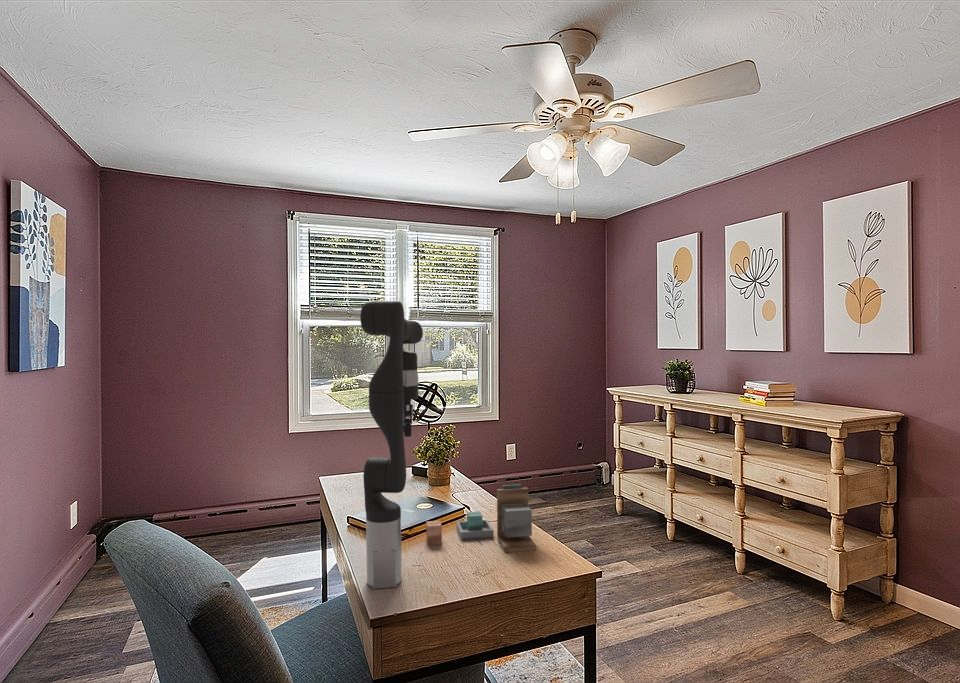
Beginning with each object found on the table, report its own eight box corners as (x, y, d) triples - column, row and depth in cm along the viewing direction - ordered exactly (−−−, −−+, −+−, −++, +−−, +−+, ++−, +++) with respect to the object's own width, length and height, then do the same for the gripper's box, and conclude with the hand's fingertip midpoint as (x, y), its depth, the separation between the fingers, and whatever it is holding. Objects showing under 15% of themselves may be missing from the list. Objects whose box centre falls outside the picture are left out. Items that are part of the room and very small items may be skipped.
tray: (493, 537, 185) (493, 530, 185) (461, 540, 183) (461, 532, 183) (487, 526, 195) (487, 519, 195) (456, 528, 193) (456, 521, 193)
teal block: (482, 533, 187) (482, 515, 187) (469, 534, 186) (468, 516, 186) (480, 529, 192) (480, 511, 192) (466, 529, 191) (466, 512, 191)
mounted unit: (536, 549, 174) (535, 492, 174) (504, 552, 172) (503, 494, 172) (527, 537, 185) (526, 483, 184) (497, 539, 183) (496, 485, 183)
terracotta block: (441, 544, 180) (441, 525, 180) (427, 545, 179) (427, 526, 179) (440, 539, 184) (440, 520, 184) (426, 540, 184) (426, 521, 183)
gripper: (394, 382, 190) (394, 430, 190) (395, 386, 176) (396, 438, 176) (416, 381, 191) (417, 430, 191) (419, 385, 177) (420, 437, 177)
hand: (407, 434), depth 184 cm, fingers open, 8 cm apart
